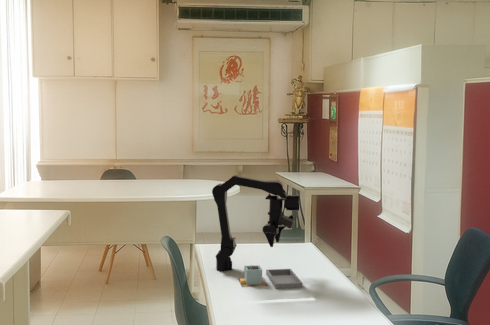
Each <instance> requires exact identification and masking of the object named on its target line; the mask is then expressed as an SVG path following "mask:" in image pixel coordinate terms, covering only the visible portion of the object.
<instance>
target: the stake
mask: <svg viewBox="0 0 490 325" xmlns="http://www.w3.org/2000/svg"><path fill="white" fill-rule="evenodd" d="M249 266H250V269H249V270H256V269H257V266H254V265H249ZM241 278H242V277H240V278H239V277H238V278H237V280H238V282H239V285H240V286H241V288H248V287H249V288H252V287H253V288H254V287H269V283H268V282H267V281H266V279H265V278H264V276H262V284H256V285H246V284H241V282H240V279H241Z"/></svg>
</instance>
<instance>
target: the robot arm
mask: <svg viewBox="0 0 490 325" xmlns="http://www.w3.org/2000/svg"><path fill="white" fill-rule="evenodd" d="M235 186H241V187H247V188H252V189H257V190H261V191H263V192H266V193H268V195H267V196H266V197H265V200H269V209H268V210H269V211H268V212H267V215H268V221H267V224H264V226H262V232H263V234H264V235H265V237H266V240H267V242H268V244H269V246H270V248H273V247H274V243H275V241H276V243H279V242H280V240H281V235H282V232H283V230H284V229H285V228H287V229H292V228H294V224H296V219H295V215H293V214H290V215H289V216H288V215H285V212H284V211H283V208H284V209H286V211H293V212H294V211H295V212H297V211H299V212H300V195H299V194H294V195H293V194H292V195H291V194H288V193H287V192H286V190H285V189H284V184H283V182H282V181H280V180H272V179H271V180H261V179H256V178H251V177H245V176H239V175H237V174H235V175H233V176H231V177H230V178H229V179H228V180H226V181H225V182H223V183H217V184H216V185H215V186H214V187H213V188H212V190H211V193H212V196H213V199H214V202H215V204H216V206H217V213H218V220H219V221H218V222H219V227H220V234H221V239H220V249H219V250H218V252H217V253H216V254H215V259H216V260H215V264H216V265H215V266H216V267H215V270H216V271H217V272H218V271H219V272H228V271H232V270H233V261H232V258H231V256H232V255H233V254H234V252H235V250H236V248H237V247H238V246H237V243H236V237H235V236H234V237H233V236H232V234H231V227H230V220H229V214H228V206H227V202H228V191H229V190H230V189H232V188H233V187H235Z"/></svg>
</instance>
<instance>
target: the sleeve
mask: <svg viewBox="0 0 490 325" xmlns="http://www.w3.org/2000/svg"><path fill="white" fill-rule="evenodd" d="M250 266H251V265H244V267H243V271H244V272H243V274H244V275H243V277H240V278H241V279H240V282H241V284H246V285H256V284H262V277H263V269H262V268H261V266H260V264H258V265H255V264H254V265H253V266H257V269H256V270H249V269H250ZM240 282H239V283H240ZM241 284H240V285H241Z"/></svg>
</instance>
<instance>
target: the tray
mask: <svg viewBox="0 0 490 325" xmlns="http://www.w3.org/2000/svg"><path fill="white" fill-rule="evenodd" d="M265 275H266V276H267V278H268V280H269V281H270V283H271V284H272V285H273V287H274V289H275V290H284V289H285V290H286V289H289V290H290V289H303V288H304V287H303V284H304V283H303V282H302V280H301V279H300V278H299V276H298V275H296V273H295V272H294V271H293V269H292V268H277V269H276V268H274V269H272V268H271V269H265Z"/></svg>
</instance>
